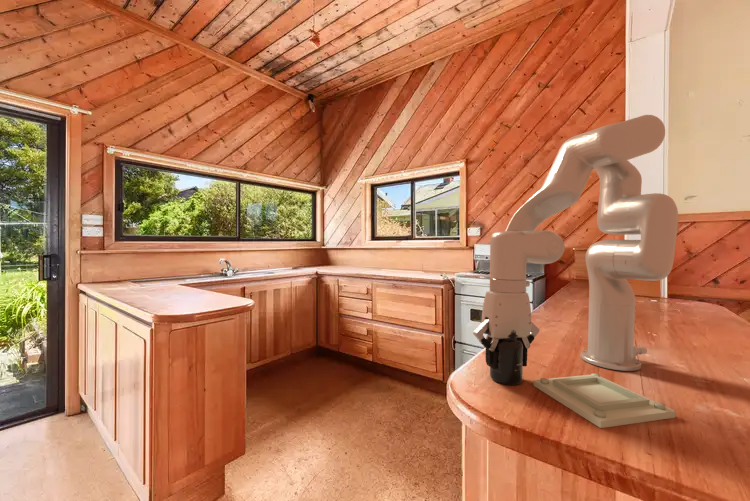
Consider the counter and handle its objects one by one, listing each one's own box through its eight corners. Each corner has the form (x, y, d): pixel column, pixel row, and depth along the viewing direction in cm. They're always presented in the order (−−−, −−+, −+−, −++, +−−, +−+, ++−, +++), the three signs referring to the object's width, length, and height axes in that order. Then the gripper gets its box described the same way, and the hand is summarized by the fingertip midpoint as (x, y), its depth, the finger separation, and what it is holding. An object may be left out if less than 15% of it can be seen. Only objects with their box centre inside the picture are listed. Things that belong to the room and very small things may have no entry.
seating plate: (595, 379, 72) (595, 369, 72) (675, 417, 56) (675, 405, 56) (533, 385, 69) (533, 375, 69) (600, 428, 53) (600, 415, 53)
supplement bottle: (526, 387, 68) (527, 331, 67) (492, 384, 69) (493, 329, 69) (518, 374, 75) (519, 323, 74) (487, 371, 76) (488, 321, 76)
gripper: (530, 283, 77) (528, 356, 77) (463, 285, 73) (462, 362, 74) (553, 287, 69) (552, 368, 70) (481, 290, 66) (480, 375, 66)
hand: (506, 364), depth 72 cm, fingers closed on supplement bottle, 6 cm apart
